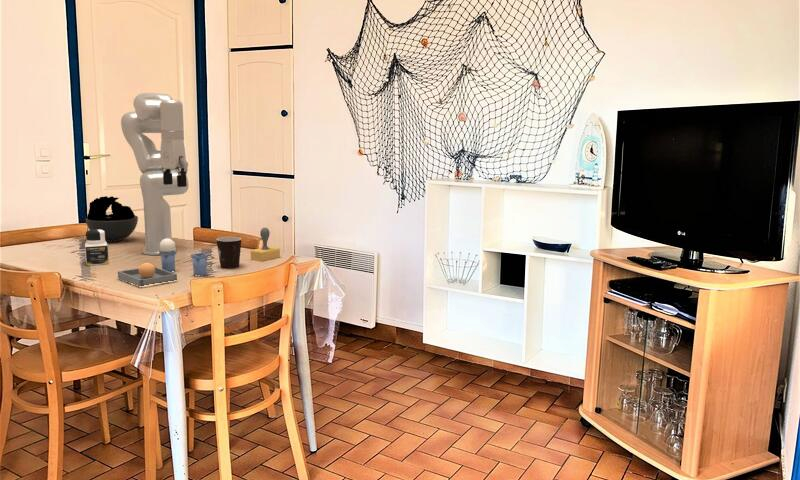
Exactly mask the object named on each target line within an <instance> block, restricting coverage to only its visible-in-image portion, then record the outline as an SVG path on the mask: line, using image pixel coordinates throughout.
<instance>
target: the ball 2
mask: <svg viewBox="0 0 800 480" xmlns="http://www.w3.org/2000/svg"><path fill="white" fill-rule="evenodd" d="M175 248H176V243H175V241H174V240H173V239H172V240H171V239H168V238H167V239H163V240H162V241H161V242H160V249H161V251H162V252H165V253H167V252H172V251H173V250H174V249H175Z"/></svg>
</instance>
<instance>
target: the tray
mask: <svg viewBox="0 0 800 480" xmlns="http://www.w3.org/2000/svg"><path fill="white" fill-rule="evenodd" d="M153 266H154V267H155V274H154V275H153V276H152V277H150V278H143V277H141V276H140V274H139V268H131V269H125V270H118V271H117V279H118V278H119V279H122V280H124V281H127V282H130V283H133V284H135V285H138V286H144V285H149V284H155V283H162V282H168V281H174V280H177V281H178V274H177V273H175V272H169V271H166V270H163V269H162V268H160V267H157V266H155V265H153ZM119 279H118V280H119ZM122 280H121V281H122ZM124 281H123V282H124Z"/></svg>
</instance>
